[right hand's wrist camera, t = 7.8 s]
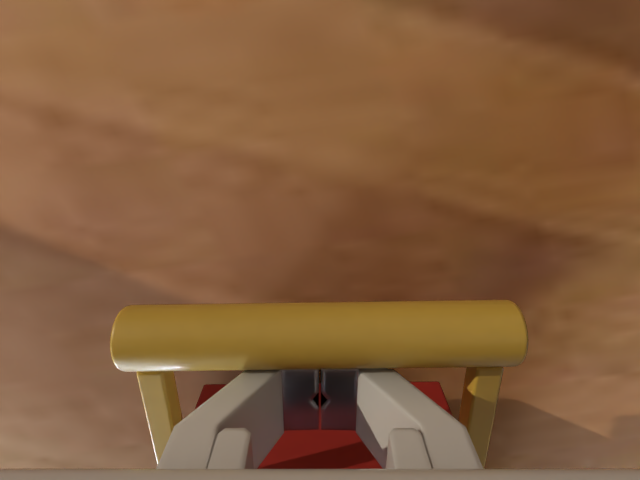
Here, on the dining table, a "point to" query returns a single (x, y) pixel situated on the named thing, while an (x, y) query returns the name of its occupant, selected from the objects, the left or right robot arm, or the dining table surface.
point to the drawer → (321, 358)
